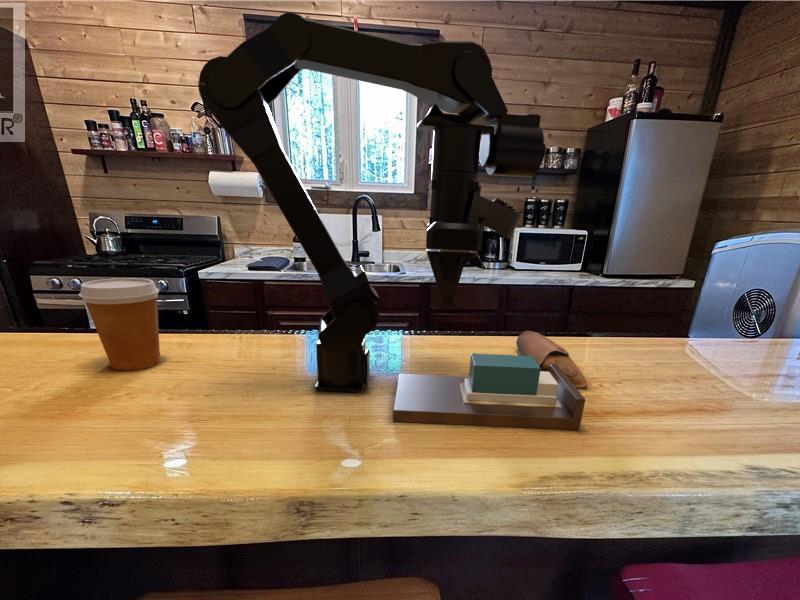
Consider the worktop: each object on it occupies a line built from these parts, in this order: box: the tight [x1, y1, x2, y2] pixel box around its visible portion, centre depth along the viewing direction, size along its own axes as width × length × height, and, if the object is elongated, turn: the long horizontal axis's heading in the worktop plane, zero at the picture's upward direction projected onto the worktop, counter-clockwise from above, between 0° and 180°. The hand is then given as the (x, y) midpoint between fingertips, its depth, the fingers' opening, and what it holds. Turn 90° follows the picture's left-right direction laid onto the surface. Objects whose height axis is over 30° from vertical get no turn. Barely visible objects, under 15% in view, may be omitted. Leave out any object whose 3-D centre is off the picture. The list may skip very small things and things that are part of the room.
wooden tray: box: [392, 364, 586, 431], centre depth 56 cm, size 22×12×4 cm, turn 89°
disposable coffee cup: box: [78, 277, 161, 371], centre depth 63 cm, size 10×10×12 cm
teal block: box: [464, 353, 558, 404], centre depth 55 cm, size 11×5×5 cm, turn 89°
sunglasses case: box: [515, 330, 588, 389], centre depth 71 cm, size 18×7×7 cm
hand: (446, 299), depth 59 cm, fingers open, 9 cm apart
